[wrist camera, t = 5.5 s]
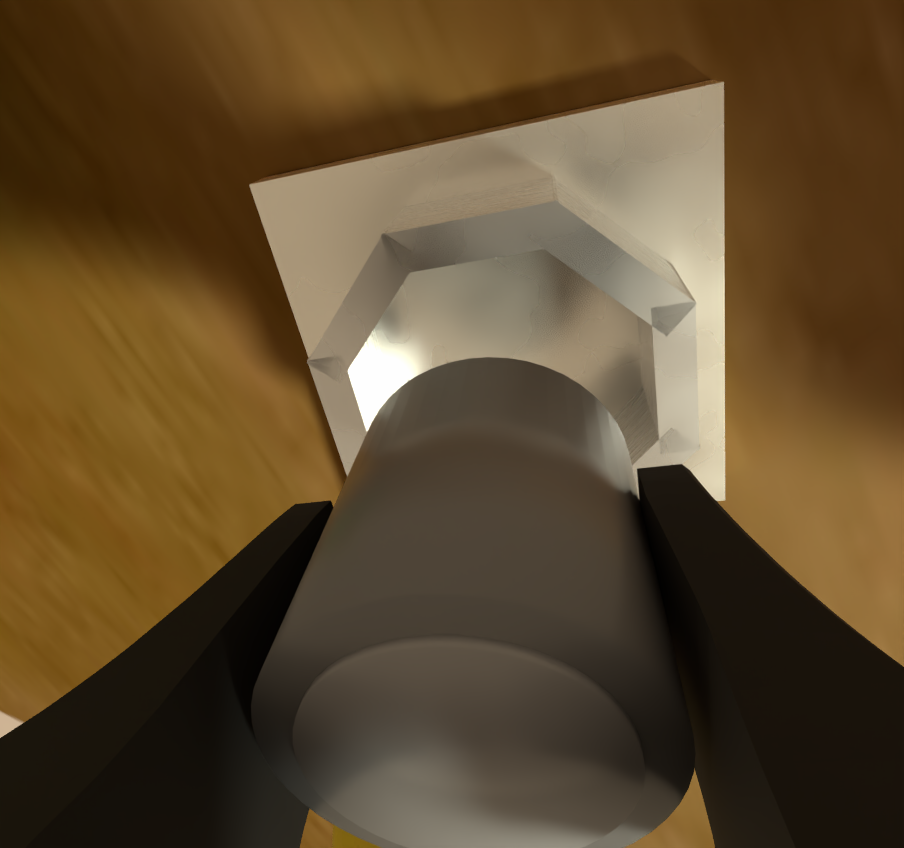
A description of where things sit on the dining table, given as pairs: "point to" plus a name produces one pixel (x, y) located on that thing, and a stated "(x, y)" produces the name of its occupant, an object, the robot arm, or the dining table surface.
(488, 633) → the cylindrical peg
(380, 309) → the octagonal socket plate
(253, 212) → the dining table surface
